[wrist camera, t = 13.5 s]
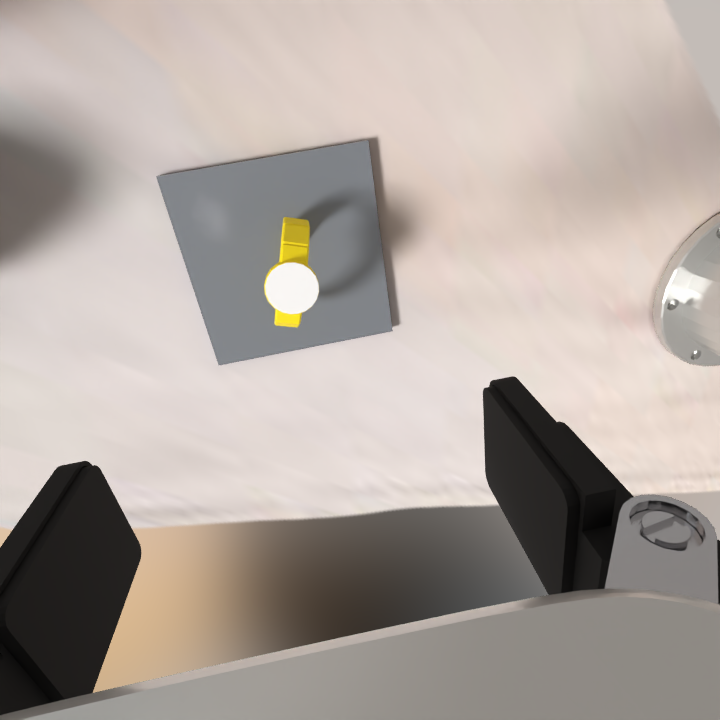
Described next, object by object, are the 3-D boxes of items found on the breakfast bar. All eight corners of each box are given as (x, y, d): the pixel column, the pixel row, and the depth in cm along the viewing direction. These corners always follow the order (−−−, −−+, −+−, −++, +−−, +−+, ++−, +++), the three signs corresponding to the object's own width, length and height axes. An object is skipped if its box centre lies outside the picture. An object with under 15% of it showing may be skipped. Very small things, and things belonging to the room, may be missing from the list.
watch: (271, 211, 27) (269, 220, 22) (318, 217, 28) (326, 228, 22) (264, 307, 30) (260, 339, 24) (307, 312, 30) (313, 343, 25)
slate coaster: (366, 140, 27) (368, 140, 26) (390, 327, 32) (392, 330, 32) (158, 175, 26) (156, 176, 25) (219, 361, 31) (218, 365, 31)
